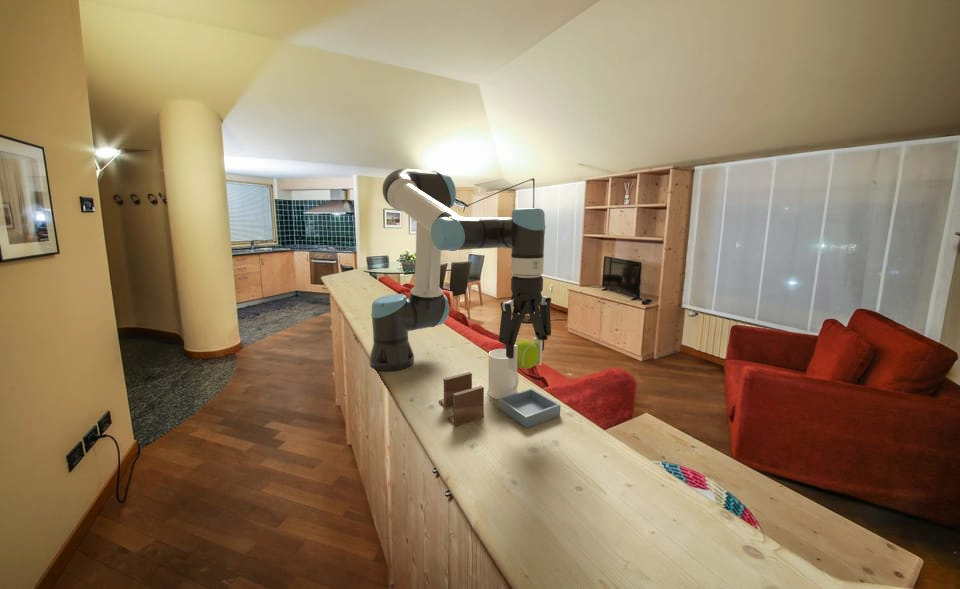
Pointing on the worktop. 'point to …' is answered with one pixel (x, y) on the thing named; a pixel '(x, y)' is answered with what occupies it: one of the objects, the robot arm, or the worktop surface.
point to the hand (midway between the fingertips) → (525, 366)
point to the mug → (501, 375)
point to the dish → (529, 408)
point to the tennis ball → (527, 354)
